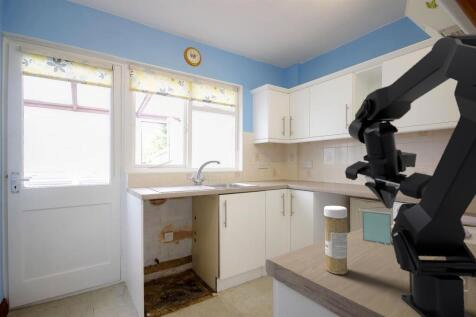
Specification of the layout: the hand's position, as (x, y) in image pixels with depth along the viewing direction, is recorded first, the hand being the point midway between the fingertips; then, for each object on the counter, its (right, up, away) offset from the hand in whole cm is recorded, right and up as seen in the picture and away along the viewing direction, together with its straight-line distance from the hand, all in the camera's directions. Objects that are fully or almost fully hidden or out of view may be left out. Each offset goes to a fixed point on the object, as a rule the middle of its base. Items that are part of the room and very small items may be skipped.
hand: (389, 207), depth 57 cm
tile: (+3, -12, +11) cm, 16 cm away
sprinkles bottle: (-16, -12, -7) cm, 21 cm away
